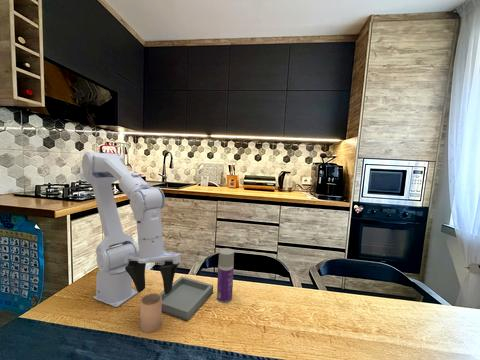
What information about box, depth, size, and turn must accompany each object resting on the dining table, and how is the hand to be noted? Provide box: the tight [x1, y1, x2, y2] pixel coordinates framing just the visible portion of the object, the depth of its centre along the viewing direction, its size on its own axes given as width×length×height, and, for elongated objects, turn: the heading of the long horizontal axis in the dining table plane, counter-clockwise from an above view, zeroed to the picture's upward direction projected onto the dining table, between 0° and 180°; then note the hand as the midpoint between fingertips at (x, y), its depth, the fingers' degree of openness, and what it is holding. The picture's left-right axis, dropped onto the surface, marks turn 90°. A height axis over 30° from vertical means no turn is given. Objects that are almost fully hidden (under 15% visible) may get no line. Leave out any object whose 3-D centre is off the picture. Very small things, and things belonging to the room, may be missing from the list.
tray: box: [159, 275, 214, 322], centre depth 67 cm, size 12×14×2 cm
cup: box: [139, 293, 163, 334], centre depth 56 cm, size 5×5×7 cm
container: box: [216, 247, 235, 304], centre depth 68 cm, size 5×5×15 cm
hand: (154, 291), depth 56 cm, fingers open, 7 cm apart
